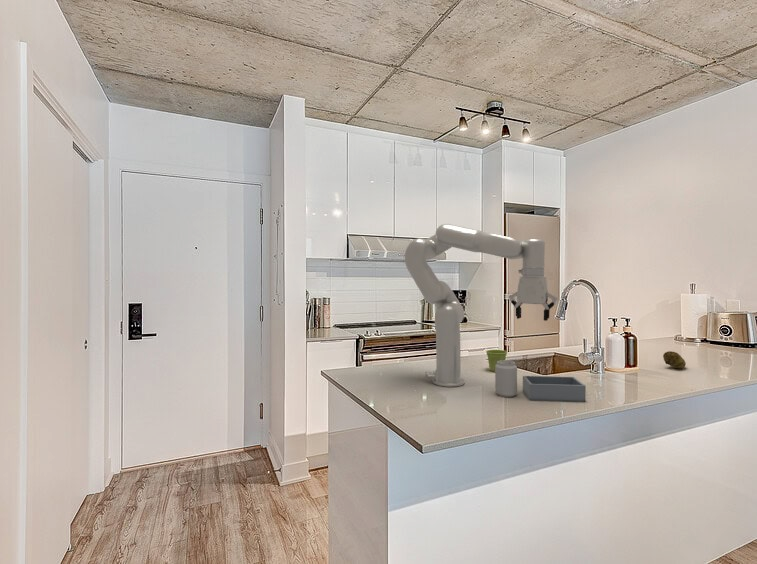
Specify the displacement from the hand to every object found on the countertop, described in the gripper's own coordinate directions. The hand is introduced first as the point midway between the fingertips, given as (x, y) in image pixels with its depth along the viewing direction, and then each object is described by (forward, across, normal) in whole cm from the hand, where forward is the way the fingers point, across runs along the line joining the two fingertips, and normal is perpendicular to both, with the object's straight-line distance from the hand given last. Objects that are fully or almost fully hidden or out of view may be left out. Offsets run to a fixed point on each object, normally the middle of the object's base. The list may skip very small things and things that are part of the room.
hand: (532, 319), depth 154 cm
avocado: (+26, +43, +72) cm, 88 cm away
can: (+27, -6, -10) cm, 29 cm away
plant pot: (+27, -22, +24) cm, 42 cm away
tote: (+26, +8, -2) cm, 28 cm away
